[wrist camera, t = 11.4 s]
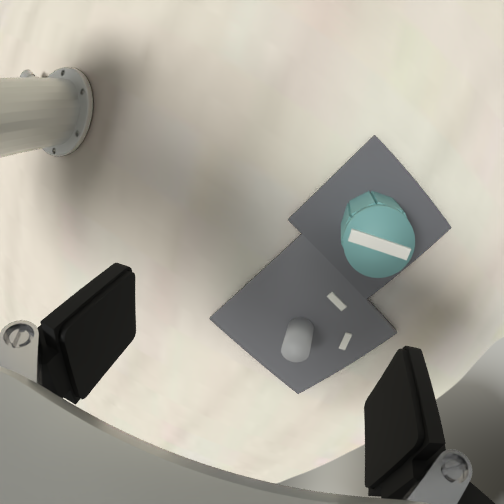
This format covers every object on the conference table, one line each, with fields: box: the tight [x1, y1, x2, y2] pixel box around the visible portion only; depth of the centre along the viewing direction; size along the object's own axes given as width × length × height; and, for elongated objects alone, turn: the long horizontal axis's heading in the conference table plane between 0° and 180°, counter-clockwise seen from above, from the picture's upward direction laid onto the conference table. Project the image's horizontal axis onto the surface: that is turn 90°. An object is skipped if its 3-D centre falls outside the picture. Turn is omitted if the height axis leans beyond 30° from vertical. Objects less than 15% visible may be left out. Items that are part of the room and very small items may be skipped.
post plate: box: [209, 233, 397, 394], centre depth 34 cm, size 16×16×5 cm
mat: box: [288, 135, 451, 299], centre depth 29 cm, size 12×12×1 cm
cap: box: [341, 191, 415, 278], centre depth 26 cm, size 6×6×6 cm
